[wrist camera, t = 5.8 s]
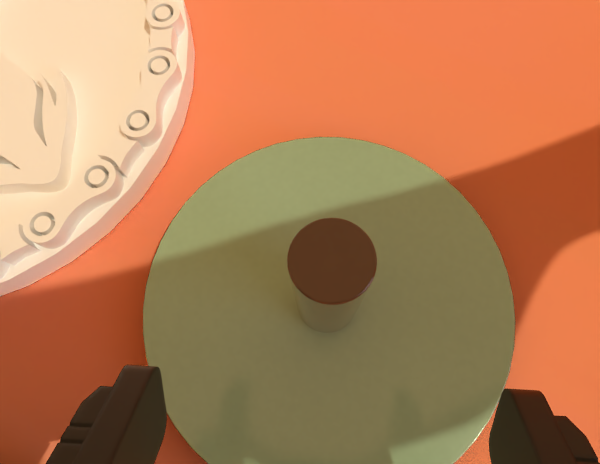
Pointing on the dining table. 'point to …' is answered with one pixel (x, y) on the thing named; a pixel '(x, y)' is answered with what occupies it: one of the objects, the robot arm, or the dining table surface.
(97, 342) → the dining table surface
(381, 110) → the dining table surface
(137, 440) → the robot arm
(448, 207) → the lid
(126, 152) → the medallion
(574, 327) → the dining table surface
